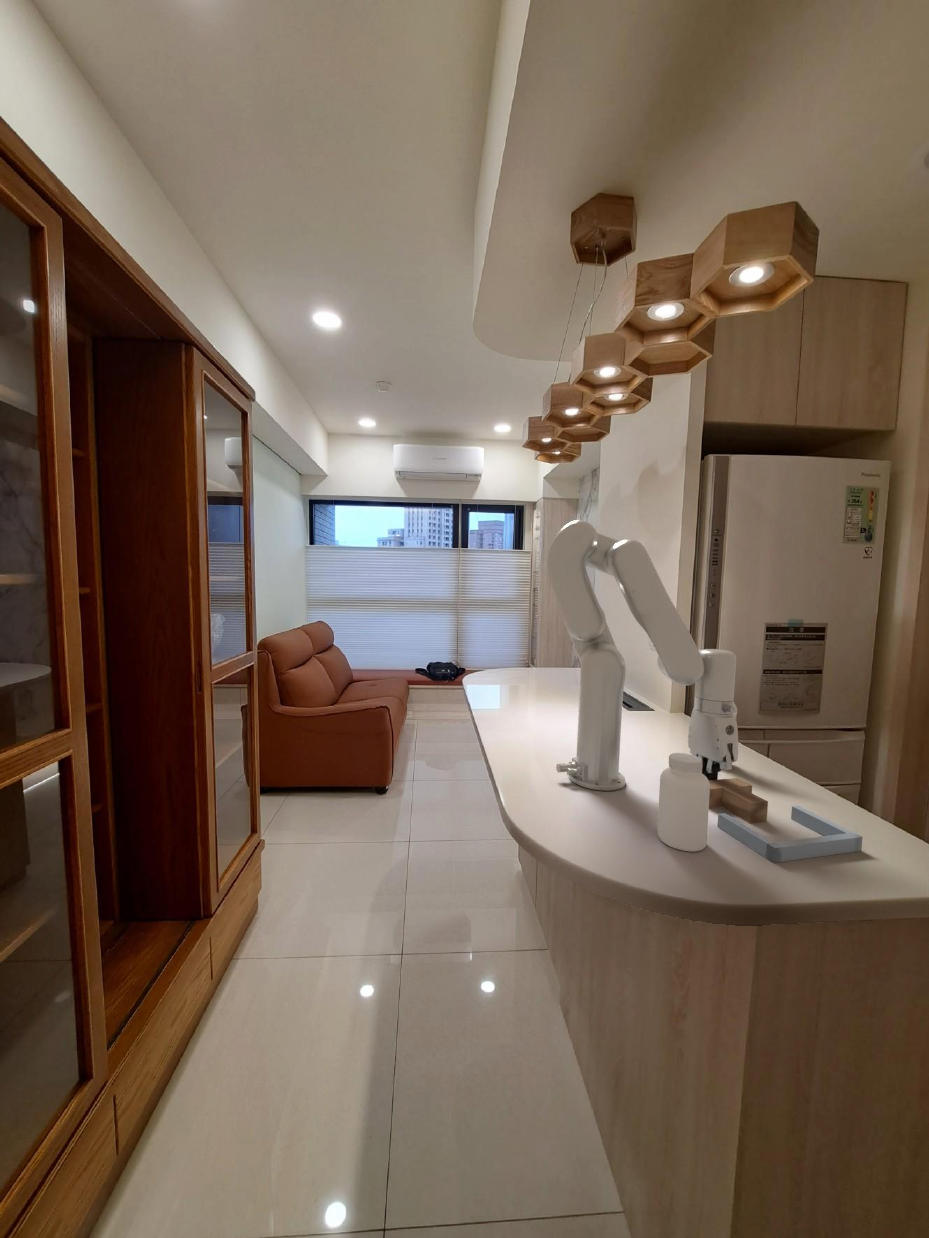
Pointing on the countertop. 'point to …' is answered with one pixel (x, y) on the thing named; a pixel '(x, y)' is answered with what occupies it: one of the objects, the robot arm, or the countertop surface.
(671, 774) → the pill bottle
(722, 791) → the t block
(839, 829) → the frame
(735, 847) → the countertop surface
